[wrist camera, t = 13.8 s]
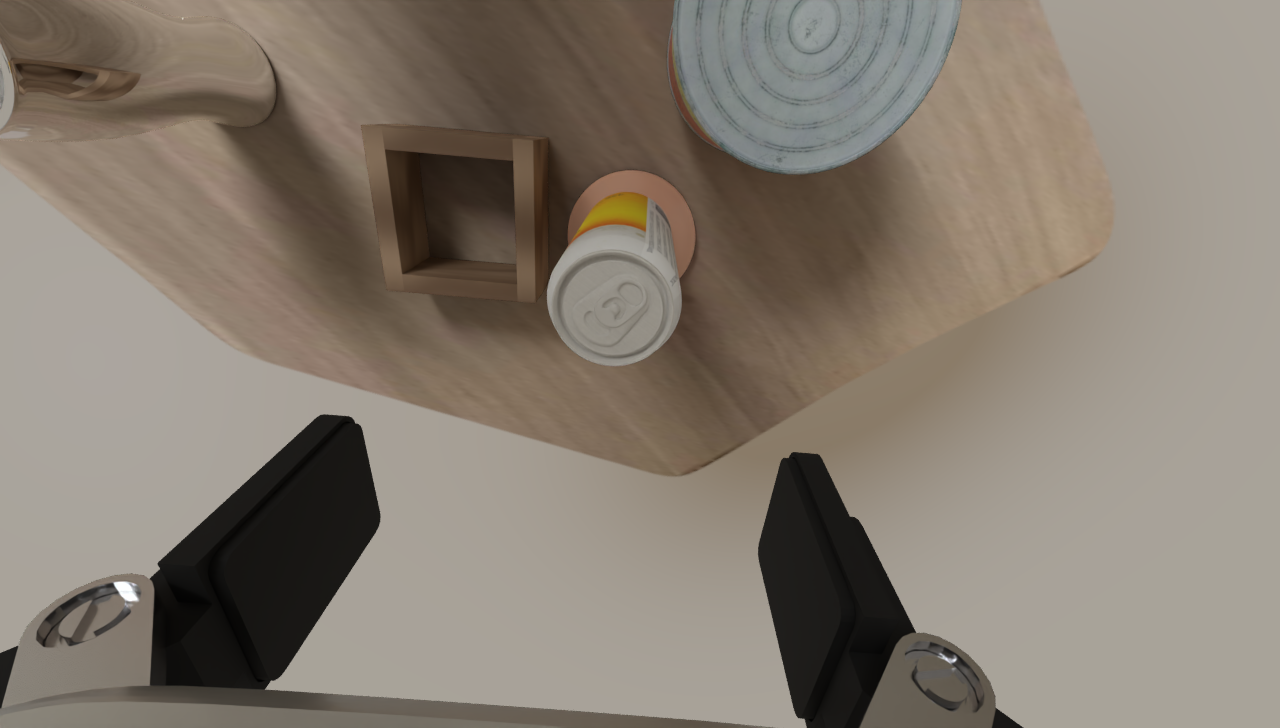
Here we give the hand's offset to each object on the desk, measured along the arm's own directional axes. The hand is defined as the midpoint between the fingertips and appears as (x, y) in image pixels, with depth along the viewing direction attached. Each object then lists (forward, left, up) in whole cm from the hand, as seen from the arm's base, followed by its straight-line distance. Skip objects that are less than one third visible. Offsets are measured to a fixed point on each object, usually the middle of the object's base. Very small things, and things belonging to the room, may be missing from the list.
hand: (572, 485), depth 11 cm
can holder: (-1, -11, -27) cm, 29 cm away
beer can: (0, 0, -27) cm, 27 cm away
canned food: (-11, +7, -27) cm, 30 cm away
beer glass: (-8, -26, -27) cm, 39 cm away
